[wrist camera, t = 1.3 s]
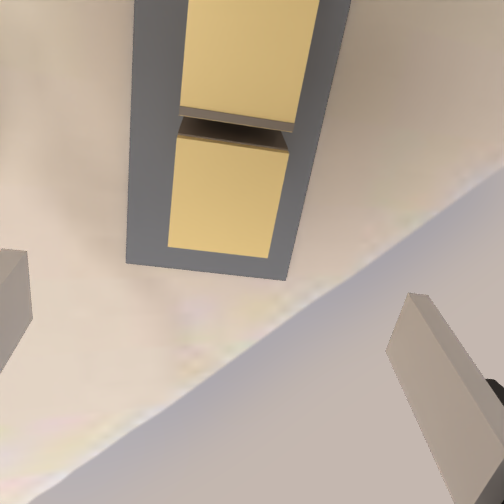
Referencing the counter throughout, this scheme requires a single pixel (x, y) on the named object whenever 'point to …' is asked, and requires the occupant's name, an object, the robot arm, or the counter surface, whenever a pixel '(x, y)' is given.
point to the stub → (226, 187)
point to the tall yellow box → (246, 60)
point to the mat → (167, 126)
